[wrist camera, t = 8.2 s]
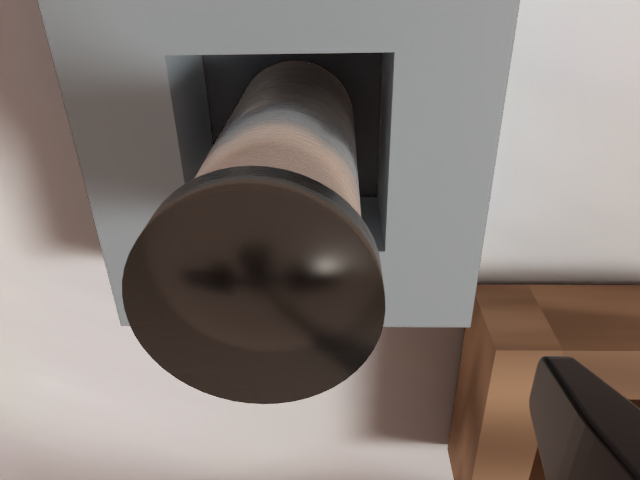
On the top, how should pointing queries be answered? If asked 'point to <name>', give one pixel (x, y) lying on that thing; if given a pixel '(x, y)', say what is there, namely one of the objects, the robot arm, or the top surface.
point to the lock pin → (264, 251)
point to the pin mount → (533, 367)
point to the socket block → (298, 38)
